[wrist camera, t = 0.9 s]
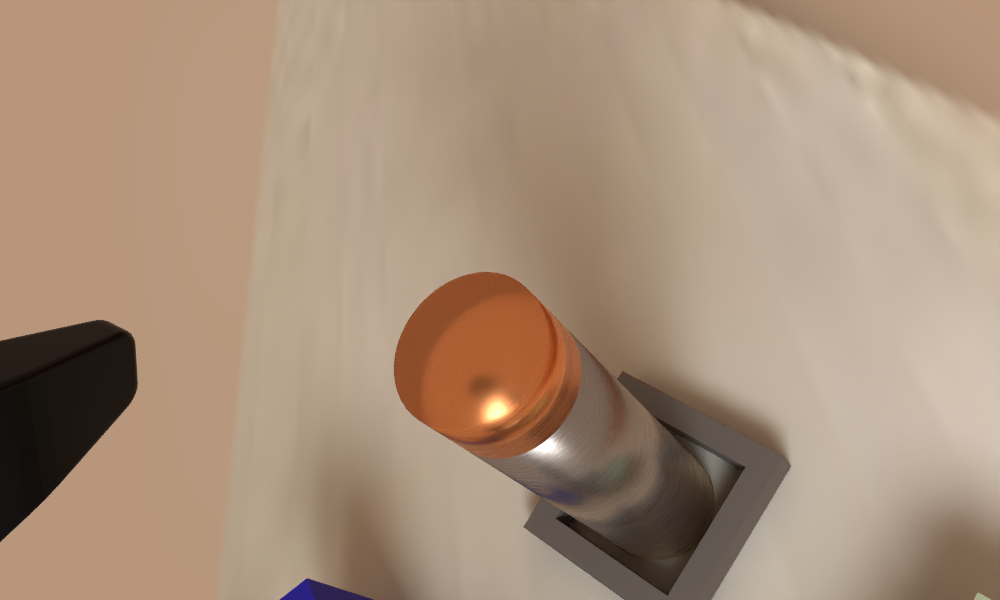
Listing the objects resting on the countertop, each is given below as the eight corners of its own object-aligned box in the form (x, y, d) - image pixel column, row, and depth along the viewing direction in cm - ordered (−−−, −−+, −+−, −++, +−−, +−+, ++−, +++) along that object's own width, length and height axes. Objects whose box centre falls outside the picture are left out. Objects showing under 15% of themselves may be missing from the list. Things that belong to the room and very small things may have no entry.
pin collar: (686, 641, 27) (675, 636, 27) (536, 534, 31) (523, 527, 30) (790, 466, 28) (783, 456, 28) (633, 382, 32) (622, 371, 31)
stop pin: (674, 582, 28) (477, 460, 19) (583, 521, 31) (365, 383, 21) (736, 481, 29) (575, 309, 19) (642, 427, 31) (456, 249, 21)
